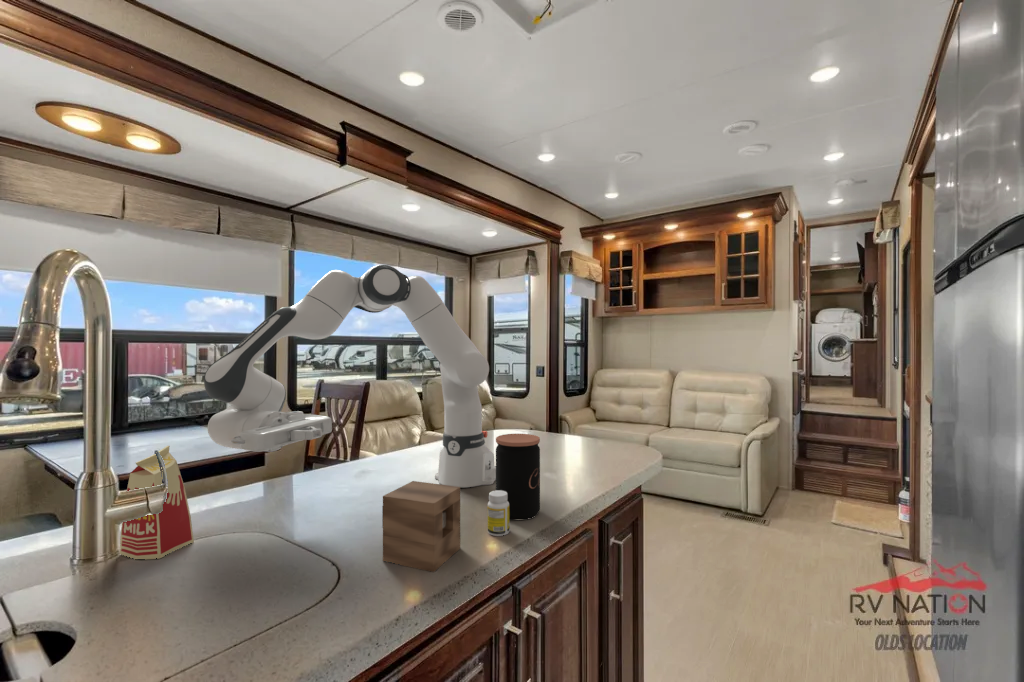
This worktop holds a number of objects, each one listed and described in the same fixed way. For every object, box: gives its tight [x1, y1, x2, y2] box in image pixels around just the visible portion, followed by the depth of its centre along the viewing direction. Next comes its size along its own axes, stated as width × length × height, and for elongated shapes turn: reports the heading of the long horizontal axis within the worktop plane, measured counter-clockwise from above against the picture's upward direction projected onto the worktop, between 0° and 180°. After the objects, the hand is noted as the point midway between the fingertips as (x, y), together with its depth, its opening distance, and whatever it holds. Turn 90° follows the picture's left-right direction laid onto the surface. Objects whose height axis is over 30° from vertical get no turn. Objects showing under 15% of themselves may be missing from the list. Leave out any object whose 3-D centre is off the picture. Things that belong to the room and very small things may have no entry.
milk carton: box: [119, 445, 195, 560], centre depth 91 cm, size 9×9×20 cm
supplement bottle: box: [486, 489, 511, 537], centre depth 99 cm, size 5×5×8 cm
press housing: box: [382, 480, 461, 573], centre depth 88 cm, size 10×11×12 cm
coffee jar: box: [495, 433, 541, 520], centre depth 110 cm, size 11×11×18 cm
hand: (317, 434), depth 98 cm, fingers closed
